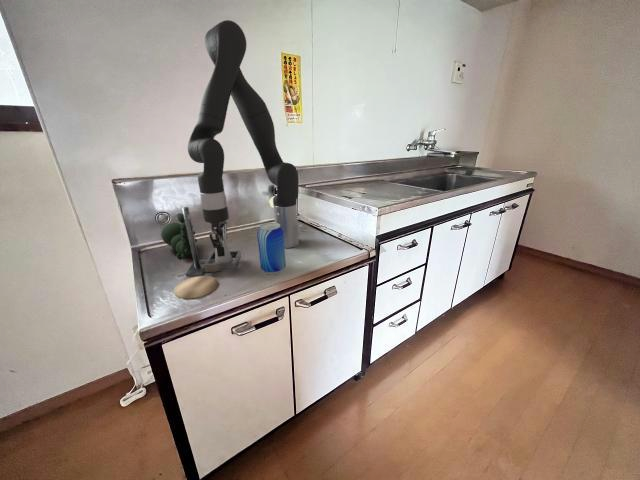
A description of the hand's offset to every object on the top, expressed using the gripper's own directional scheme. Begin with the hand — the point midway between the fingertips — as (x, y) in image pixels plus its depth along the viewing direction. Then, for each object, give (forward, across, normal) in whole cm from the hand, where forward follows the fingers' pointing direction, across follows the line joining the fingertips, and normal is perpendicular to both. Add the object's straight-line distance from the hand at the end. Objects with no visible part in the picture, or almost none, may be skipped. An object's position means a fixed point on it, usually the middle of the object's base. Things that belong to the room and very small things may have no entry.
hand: (222, 254), depth 90 cm
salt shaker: (+5, 0, 0) cm, 5 cm away
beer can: (+5, -4, -17) cm, 18 cm away
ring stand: (+5, 0, +3) cm, 6 cm away
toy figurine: (+5, +15, +19) cm, 25 cm away
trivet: (+5, -12, +6) cm, 14 cm away
